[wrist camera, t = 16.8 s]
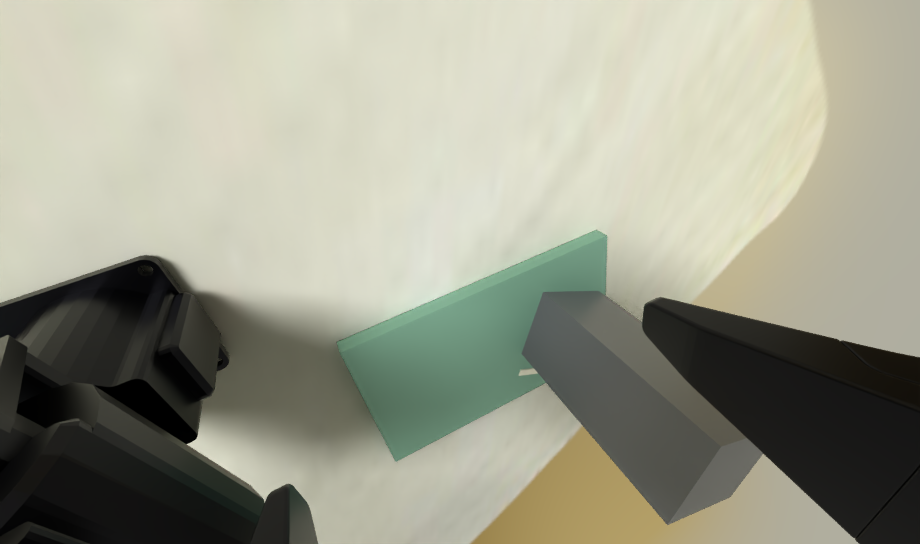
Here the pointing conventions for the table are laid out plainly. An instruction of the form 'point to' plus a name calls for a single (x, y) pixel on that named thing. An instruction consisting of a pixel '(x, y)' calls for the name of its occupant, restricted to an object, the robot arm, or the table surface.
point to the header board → (463, 347)
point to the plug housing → (636, 404)
